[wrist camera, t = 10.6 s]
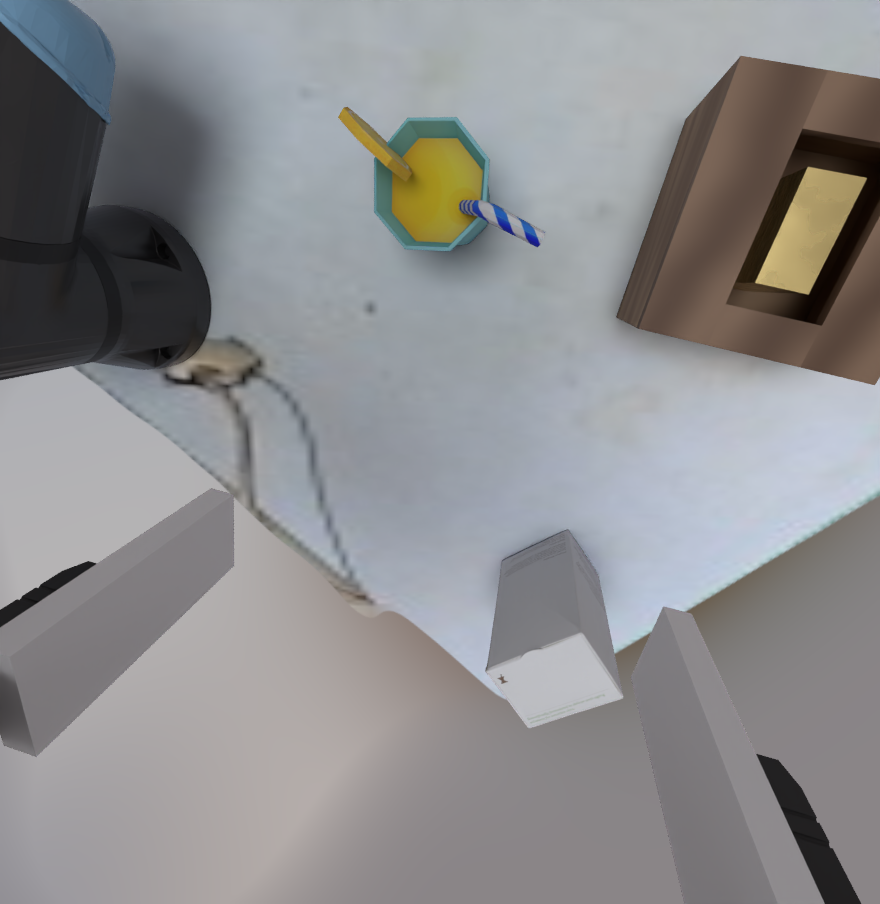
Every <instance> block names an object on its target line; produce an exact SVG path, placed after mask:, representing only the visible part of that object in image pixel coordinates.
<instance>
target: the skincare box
mask: <svg viewBox="0 0 880 904" xmlns="http://www.w3.org/2000/svg"><path fill="white" fill-rule="evenodd" d="M485 672H486V673H487V674H488V675H489V677H490V678H491V679H492V681H493V682H494V683H495V685H496V686H497V687H498V688H499V690H500V691H501V692H502V694H503V695H504V696H505V698H506V699H507V700H508V701H509V703H510V704H511V705H512V707H513V708H514V709H515V711H516V712H517V714H518V715H519V716H520V717H521V719H522V720H523V722H524V723H525V724H526V726H527V727H528V728H532V727H535V726H538V725H541V724H544V723H547V722H550V721H553V720H556V719H559V718H562V717H566V716H569V715H572V714H575V713H578V712H581V711H584V710H587V709H591V708H594V707H597V706H599V705H603V704H606V703H610V702H613V701H616V700H619V699H622V698H623V695H622V688H621V683H620V679H619V674H618V669H617V664H616V660H615V654H614V649H613V645H612V640H611V635H610V630H609V625H608V620H607V615H606V610H605V605H604V600H603V595H602V590H601V586H600V580H599V576H598V574H597V572H596V571H595V569H594V568H593V566H592V565H591V563H590V562H589V560H588V559H587V557H586V555H585V554H584V552H583V551H582V549H581V548H580V546H579V545H578V543H577V542H576V541H575V539H574V538H573V536H572V535H571V533H570V531H569V530H566V531H564V532H561V533H559V534H557V535H555V536H553V537H551V538H549V539H547V540H544V541H542V542H540V543H538V544H536V545H534V546H532V547H530V548H528V549H525V550H523V551H521V552H519V553H517V554H515V555H513V556H511V557H509V558H507V559H505V560H503V561H502V565H501V572H500V580H499V587H498V594H497V601H496V608H495V615H494V622H493V629H492V636H491V644H490V651H489V657H488V663H487V667H486V670H485Z"/></svg>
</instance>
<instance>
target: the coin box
mask: <svg viewBox="0 0 880 904" xmlns="http://www.w3.org/2000/svg"><path fill="white" fill-rule="evenodd" d="M806 167H812V168H817V169H822V170H828V171H833V172H838V173H843V174H849V175H854V176H859V177H865V178H867V179H866V181H865V183H864V185H863V187H862V189H861V191H860V193H859V195H858V197H857V199H856V201H855V203H854V205H853V207H852V209H851V211H850V213H849V215H848V217H847V219H846V221H845V223H844V225H843V227H842V229H841V231H840V233H839V235H838V237H837V239H836V241H835V243H834V245H833V247H832V249H831V251H830V253H829V255H828V257H827V259H826V261H825V263H824V265H823V267H822V269H821V271H820V273H819V275H818V277H817V279H816V281H815V283H814V285H813V287H812V289H811V291H810V293H809V295H808V294H789V293H770V292H751V291H743V290H738V289H734V288H733V286H734V284H735V281H736V279H737V277H738V274H739V272H740V270H741V268H742V265H743V263H744V261H745V258H746V256H747V254H748V252H749V249H750V247H751V245H752V243H753V240H754V238H755V236H756V233H757V231H758V229H759V227H760V224H761V222H762V220H763V217H764V215H765V213H766V211H767V208H768V206H769V204H770V201H771V199H772V197H773V195H774V192H775V190H776V188H777V186H778V183H779V181H780V179H781V178H783V177H785V176H788V175H790V174H792V173H795V172H797V171H799V170H802V169H804V168H806ZM616 317H617V318H619V319H621V320H623V321H625V322H627V323H629V324H631V325H632V326H634V327H636V328H638V329H642V330H646V331H650V332H655V333H659V334H663V335H667V336H671V337H676V338H680V339H684V340H688V341H692V342H697V343H701V344H705V345H709V346H713V347H717V348H722V349H726V350H730V351H734V352H738V353H743V354H747V355H751V356H755V357H759V358H764V359H768V360H772V361H776V362H780V363H784V364H789V365H793V366H797V367H801V368H805V369H810V370H814V371H818V372H822V373H826V374H831V375H835V376H839V377H843V378H847V379H851V380H856V381H860V382H864V383H868V384H872V385H875V384H876V382H877V381H878V379H879V377H880V79H878V78H872V77H866V76H860V75H854V74H848V73H842V72H835V71H829V70H823V69H817V68H811V67H805V66H799V65H793V64H787V63H781V62H775V61H769V60H763V59H757V58H751V57H744V56H740V58H739V59H738V60H737V61H736V62H735V63H734V64H733V66H732V67H731V68H730V69H729V70H728V71H727V73H726V74H725V75H724V76H723V77H722V78H721V79H720V81H719V82H718V83H717V84H716V85H715V86H714V87H713V89H712V90H711V91H710V92H709V93H708V94H707V95H706V97H705V98H704V99H703V100H702V101H701V102H700V103H699V105H698V106H697V107H696V108H695V109H694V110H693V112H692V113H691V114H690V115H689V116H688V117H687V118H686V121H685V123H684V126H683V129H682V132H681V135H680V138H679V140H678V143H677V146H676V149H675V152H674V155H673V157H672V160H671V163H670V166H669V169H668V172H667V174H666V177H665V180H664V183H663V186H662V189H661V191H660V194H659V197H658V200H657V203H656V206H655V208H654V211H653V214H652V217H651V220H650V223H649V225H648V228H647V231H646V234H645V237H644V240H643V243H642V245H641V248H640V251H639V254H638V257H637V260H636V262H635V265H634V268H633V271H632V274H631V277H630V279H629V282H628V285H627V288H626V291H625V294H624V296H623V299H622V302H621V305H620V308H619V311H618V313H617V316H616Z"/></svg>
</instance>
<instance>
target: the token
mask: <svg viewBox="0 0 880 904" xmlns="http://www.w3.org/2000/svg"><path fill="white" fill-rule="evenodd" d="M866 179H867V178H865V177H859V176H854V175H849V174H843V173H838V172H833V171H828V170H822V169H817V168H812V167H806V168H804V169H802V170H799V171H797V172H795V173H792V174H790V175H788V176H785V177H783V178H781V179H780V181H779V183H778V186H777V188H776V190H775V192H774V195H773V197H772V199H771V201H770V204H769V206H768V208H767V211H766V213H765V215H764V217H763V220H762V222H761V224H760V227H759V229H758V231H757V233H756V236H755V238H754V240H753V243H752V245H751V247H750V249H749V252H748V254H747V256H746V258H745V261H744V263H743V265H742V268H741V270H740V272H739V274H738V277H737V279H736V281H735V284H734V286H733V288H734V289H738V290H743V291H751V292H770V293H789V294H808V295H809V293H810V291H811V289H812V287H813V285H814V283H815V281H816V279H817V277H818V275H819V273H820V271H821V269H822V267H823V265H824V263H825V261H826V259H827V257H828V255H829V253H830V251H831V249H832V247H833V245H834V243H835V241H836V239H837V237H838V235H839V233H840V231H841V229H842V227H843V225H844V223H845V221H846V219H847V217H848V215H849V213H850V211H851V209H852V207H853V205H854V203H855V201H856V199H857V197H858V195H859V193H860V191H861V189H862V187H863V185H864V183H865V181H866Z"/></svg>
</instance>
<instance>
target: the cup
mask: <svg viewBox="0 0 880 904" xmlns="http://www.w3.org/2000/svg"><path fill="white" fill-rule="evenodd" d="M338 118H339V119H340V120H341V121H342V122H343V123H344V125H345V126H346V127H347V128H348V129H349V130H350V132H351V133H352V134H353V135H354V136H355V137H356V139H357V140H358V141H360V142H361V143H362V144H363V145H364V146H365V147H366V148H367V149H368V150H369V151H370V152H371V153H372V154H373V155H374V156H375V158H374V212H375V214H376V215H377V216H378V217H379V218H380V220H381V221H382V222H383V223H384V224H385V226H386V227H387V228H388V229H389V230H390V232H391V233H392V234H393V235H394V236H395V238H396V239H397V240H398V241H399V243H400V244H401V245H402V246H403V247H404V249H411V250H433V251H451V250H453V249H454V248H455V247H456V246H457V245H464V244H469V243H470V242H471V241H472V240H473V239H474V238H475V237H476V236H477V235H478V234H479V233H480V232H481V231H482V230H483V229H484V228H485V227H486V226H487V223H488V222H489V223H491V224H493V225H495V226H496V227H498V228H500V229H502V230H504V231H506V232H508V233H510V234H512V235H514V236H516V237H518V238H520V239H522V240H524V241H526V242H528V243H530V244H532V245H534V246H536V247H538V246H539V245H540V244H541V242H542V240H543V238H544V236H545V232H544V231H542V230H540V229H538V228H536V227H535V226H533V225H531V224H529V223H527V222H526V221H524V220H522V219H520V218H518V217H516V216H515V215H513V214H511V213H509V212H507V211H506V210H504V209H502V208H500V207H498V206H496V205H495V204H491V203H489V198H490V197H489V190H488V175H489V160H490V159H489V158H488V157H487V156H486V154H485V153H484V152H483V150H482V149H481V148H480V147H479V145H478V144H477V143H476V141H475V140H474V139H473V138H472V136H471V135H470V134H469V132H468V131H467V130H466V128H465V127H464V126H463V125H462V123H461V122H460V121H459V119H458V118H457V117H444V118H407V119H406V121H405V122H404V123H403V124H402V126H401V127H400V128H399V129H398V130H397V132H396V133H395V134H394V135H393V136H392V138H391V139H390V140H389V141H388V143H387V142H386V141H385V140H384V139H383V138H382V137H381V136H380V135H379V134H378V133H377V132H376V131H375V130H374V129H373V128H372V127H371V126H370V125H368V124H367V123H366V122H365V121H364V120H363V119H361V118H360V117H359V116H358V115H357V114H355V113H354V112H353V111H352V110H351V109H349V108H348V107H345V108H343V110H342V112H341V113H340V115H339V117H338Z"/></svg>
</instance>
